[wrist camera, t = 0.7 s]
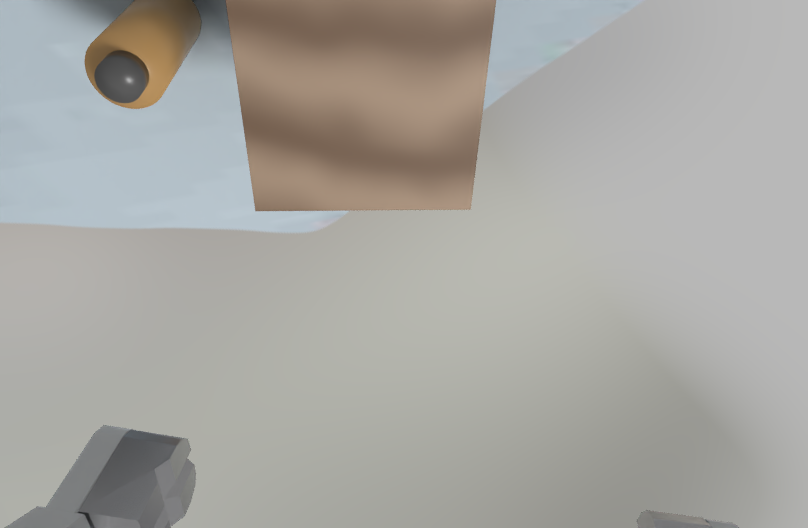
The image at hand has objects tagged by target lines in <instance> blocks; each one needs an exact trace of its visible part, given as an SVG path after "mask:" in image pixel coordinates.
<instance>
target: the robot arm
mask: <svg viewBox="0 0 808 528" xmlns="http://www.w3.org/2000/svg"><path fill="white" fill-rule="evenodd" d="M190 451H191V448H190V445H189V442H188V439H186V438H180V437H174V436H167V435H161V434H155V433H149V432H143V431H136V430H133V429H127V428H120V427H113V426H107V425H103V426H102V427H101V428H100V429H99V430H98V431H96V432H95V433H94V434H93V436H92V437H91V439H90V441H89V442H88V444H87V445H86V447H85V448H84V450H83V451H82V453H81V454H80V456H79V457H78V459H77V460H76V462H75V464H74V465H73V466H72V468H71V470H70V471H69V473H68V474H67V476H66V477H65V479H64V480H63V482H62V483H61V485H60V487H59V488H58V489H57V491H56V492H55V494H54V495H53V497H52V498H51V500H50V502H49V503H48V505H47V506H46V507H38V506H37V507H36V508H34V509H33V510H31V511H30V512H28V513H27V514H25V515H24V516H22V517H20V518H19V519H17V520H16V521H14V522H13V523H11V524H10V525H8V526H7V527H5V528H171V526H172V525H173V524H175V523H176V522H177V521H179V520H180V519H181V518H183V517H184V516H185V514H186V512H187V509H188V507H189V505H190V502H191V499H192V495H193V491H194V487H195V480H196V472H195V466H194V464H193V463H192V462H191V461H189V460H188V459H187V457H188V455H189V453H190ZM637 523H638V528H739V527H738V526H737V525H736V524H733V523H730V522H723V521H716V520H709V519H703V518H700V517H693V516H686V515H678V514H672V513H663V512H657V511H650V510H646V511H644V512H642V513H641V514H640V516H639V517H638V519H637Z"/></svg>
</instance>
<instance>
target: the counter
mask: <svg viewBox="0 0 808 528" xmlns="http://www.w3.org/2000/svg"><path fill="white" fill-rule="evenodd" d="M495 5H496V0H226V7H227V14H228V21H229V28H230V35H231V42H232V49H233V56H234V63H235V70H236V77H237V84H238V91H239V98H240V105H241V112H242V119H243V126H244V133H245V140H246V147H247V154H248V161H249V168H250V175H251V182H252V189H253V196H254V203H255V210H256V211H335V210H465V209H466V210H467V209H469V210H470V209H471V201H472V194H473V185H474V177H475V169H476V160H477V152H478V144H479V136H480V128H481V120H482V112H483V104H484V95H485V87H486V79H487V71H488V63H489V54H490V46H491V38H492V30H493V22H494V13H495Z"/></svg>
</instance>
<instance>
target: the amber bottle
mask: <svg viewBox="0 0 808 528" xmlns="http://www.w3.org/2000/svg"><path fill="white" fill-rule="evenodd" d="M200 30H201V19H200V14H199V12H198V9H197V7H196V6H195V4H194V3H193V1H192V0H135V1H134V2H133V3H132V4H131V5H130V6H129V7H128V8H126V9H125V10H124V11H123V12H122V13H121V14H120V15H119V16H118V17H117V18H116V19H115V20H114V21H113V22H112V23H111V24H110V25H109V26H108V27H107V28H106V29H105V30H104V31H103V32H102V33H101V34H100V35H99V36H98V37H97V38H96V39H95V40H94V41H93V42H92V43H91V44H90V46H89V47H88V49H87V51H86V55H85V69H86V73H87V76H88V78H89V80H90V82H91V83H92V85H93V86H94V88H95V89H96V90H97V91H98V92H99V93H100V94H101V95H102V96H103V97H104V98H106V99H107V100H109V101H110V102H112V103H114V104H116V105H119V106H122V107H125V108H131V109H140V108H145V107H148V106H151V105H153V104H154V103H156V102H157V101H158V100H159V99H160V98H161V97H162V95H163V93H164V92H165V90H166V88H167V87H168V85H169V84H170V82H171V80H172V79H173V77H174V75H175V74H176V72H177V71H178V69H179V67H180V66H181V64H182V62H183V61H184V59H185V58H186V56H187V54H188V53H189V51H190V49H191V48H192V46H193V45H194V43H195V41H196V40H197V38H198V36H199V34H200Z"/></svg>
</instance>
